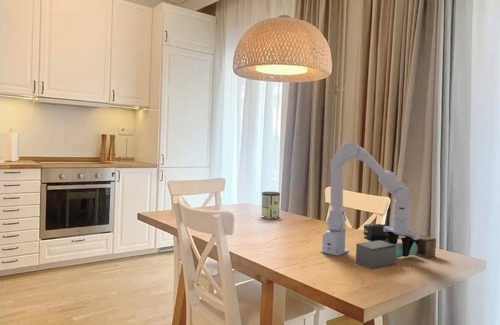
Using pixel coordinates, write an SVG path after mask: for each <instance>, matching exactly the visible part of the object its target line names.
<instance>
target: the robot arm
mask: <svg viewBox="0 0 500 325" xmlns="http://www.w3.org/2000/svg"><path fill="white" fill-rule="evenodd" d="M354 158H355V160H357V161H360V162H361V161H362V162H363V163H365V165H366V166H368V167H369V168H370V169H371V170H372V172H374V173H375V174H376V175H377V176H378V182H379V183H380V184H381V185H382V186H383V188H384V189H385V190H386V191H387V192H389V194H392V195H393V198H394V204H393V210H392V214H393V215H392V226H384V227H383V231H384V232H388V233H387V234H385V236H386V238H387V243H391V244H398V239H399V237H400V236H401V243H402V244H403V257H404V258H406V257H409V256H410V255H409V252H410V249H411V247H412V245H413V244H414V242H415V241H416V240H418V239H419V235H420V233H417V232H414V231H412V230H410V219H411V218H410V216H411V206H410V205H411V202H410V200H412V195H411V194H412V193H411V191H410V188H408V186H406V183H405V182H401V180H400V179H399V178H398V177H397V174H396V173H395V172H392V171H391V170H385V169H384V168H383V166H381V165H380V164H379V162H377V160H376V159H375V158H374V157H373V156H372V155H371V154H370V153H369V152H368V151H367V150H366V149H365V148H363V147H362V146H360V145H359V144H358V143H357V142H356V141H349V140H348V141H346V142H344V143H343V144H342V145H340V146H339V147H338V149H337V150H336V152H335V154H334V155H333V157H332V158H331V159H330V207H329V214H328V218H327V219H326V225H327V226H326V227H327V228H326V231H325V233H323V235H322V244H321V245H322V246H321V248H322V249H321V250H320V251H319V252H320V253H325V254H328V255H332V256H341V255H344V254H345V253H348V252H349V251H350V250H349V249H346V232H347V231H346V227H345V226H344V224H345V223H346V221H347V217H346V214H345V211H344V165H345V164H346V163H347V162H349V161H350V160H352V159H354ZM408 255H409V256H408Z"/></svg>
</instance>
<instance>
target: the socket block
mask: <svg viewBox="0 0 500 325" xmlns="http://www.w3.org/2000/svg"><path fill="white" fill-rule="evenodd" d="M415 243H416V244H417V245H418V252H417V253H416V254H414V255H416V256H418V257H422V258H425V259H429V258H434V257H436V248H437V246H436V243H437V238H435V237H430V236H426V235H423V234H419V239H418V240H416V241H415Z"/></svg>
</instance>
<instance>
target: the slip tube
mask: <svg viewBox="0 0 500 325" xmlns="http://www.w3.org/2000/svg"><path fill="white" fill-rule="evenodd" d="M394 245H396V259H397V258H402V257H404V256H403V244H402V242H397V244H394ZM417 252H418V245H417V244H416V243H415V242H414V244H413V245H412V247H411V249H410V252H409V255H408V256H407V257H409V256H413V255H415V254H416V253H417Z"/></svg>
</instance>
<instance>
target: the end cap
mask: <svg viewBox="0 0 500 325" xmlns="http://www.w3.org/2000/svg"><path fill="white" fill-rule="evenodd" d="M384 226H389V225H388V224H386V223H385V224H384V223H383V224H381V223H375V224H370V223H367V224H364V225H363V230H364V231H363V235H364V236H363V238H364V239H366V240H368V241H373V240H374V241H378V240H386V239H387V238H386V236H385V234H387V233H388V232H384V231H383V227H384ZM389 227H390V226H389ZM365 230H366V231H365Z"/></svg>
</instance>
